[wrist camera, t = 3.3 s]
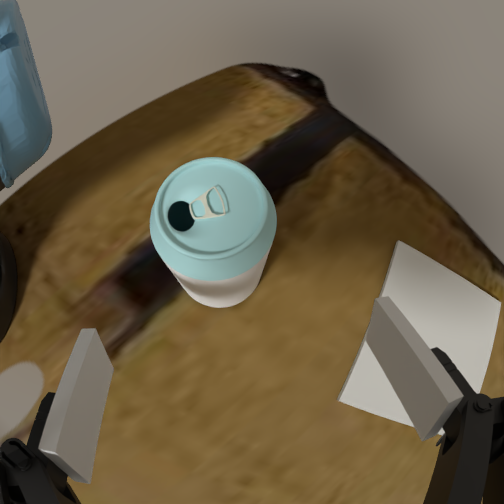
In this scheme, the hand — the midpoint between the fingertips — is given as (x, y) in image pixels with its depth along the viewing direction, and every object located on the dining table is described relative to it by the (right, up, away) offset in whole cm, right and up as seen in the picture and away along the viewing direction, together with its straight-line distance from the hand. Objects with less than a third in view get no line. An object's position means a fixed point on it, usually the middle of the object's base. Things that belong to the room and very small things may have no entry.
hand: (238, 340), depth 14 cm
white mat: (+18, -5, +12) cm, 22 cm away
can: (-2, +3, +13) cm, 14 cm away
